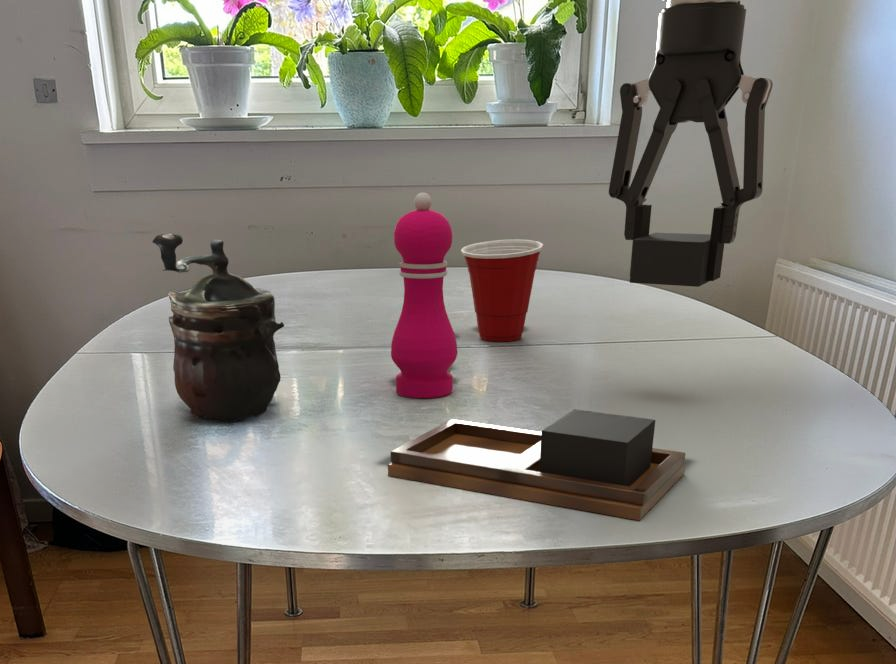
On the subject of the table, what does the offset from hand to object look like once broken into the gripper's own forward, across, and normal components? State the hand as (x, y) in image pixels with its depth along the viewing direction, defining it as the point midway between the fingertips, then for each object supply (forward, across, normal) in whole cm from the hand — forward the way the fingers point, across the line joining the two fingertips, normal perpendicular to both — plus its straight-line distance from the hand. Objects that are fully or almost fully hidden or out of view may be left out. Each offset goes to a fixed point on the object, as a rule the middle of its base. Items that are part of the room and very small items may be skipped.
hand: (674, 276), depth 95 cm
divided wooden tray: (+12, +2, +29) cm, 32 cm away
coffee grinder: (+12, +37, +28) cm, 48 cm away
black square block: (+11, -4, +29) cm, 32 cm away
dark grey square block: (0, 0, 0) cm, 0 cm away
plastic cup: (+12, +29, -21) cm, 38 cm away
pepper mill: (+12, +24, +9) cm, 28 cm away
